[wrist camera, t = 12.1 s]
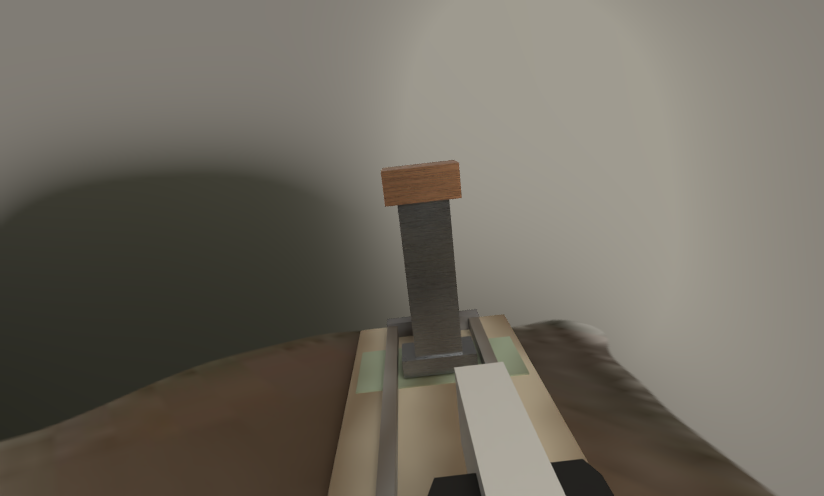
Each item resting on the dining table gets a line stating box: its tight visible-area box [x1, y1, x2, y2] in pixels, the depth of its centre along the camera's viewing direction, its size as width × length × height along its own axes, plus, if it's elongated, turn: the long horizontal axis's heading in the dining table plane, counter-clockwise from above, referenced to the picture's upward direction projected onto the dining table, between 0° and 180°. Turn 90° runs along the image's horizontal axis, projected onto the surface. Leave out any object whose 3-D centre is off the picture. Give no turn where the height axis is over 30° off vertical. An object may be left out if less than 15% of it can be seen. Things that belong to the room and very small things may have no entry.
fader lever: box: [381, 160, 478, 378], centre depth 27 cm, size 5×2×13 cm, turn 92°
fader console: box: [328, 309, 589, 496], centre depth 24 cm, size 12×24×3 cm, turn 2°
